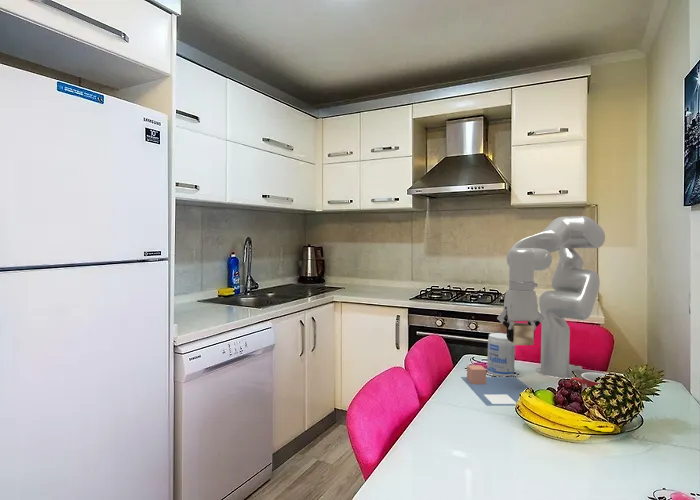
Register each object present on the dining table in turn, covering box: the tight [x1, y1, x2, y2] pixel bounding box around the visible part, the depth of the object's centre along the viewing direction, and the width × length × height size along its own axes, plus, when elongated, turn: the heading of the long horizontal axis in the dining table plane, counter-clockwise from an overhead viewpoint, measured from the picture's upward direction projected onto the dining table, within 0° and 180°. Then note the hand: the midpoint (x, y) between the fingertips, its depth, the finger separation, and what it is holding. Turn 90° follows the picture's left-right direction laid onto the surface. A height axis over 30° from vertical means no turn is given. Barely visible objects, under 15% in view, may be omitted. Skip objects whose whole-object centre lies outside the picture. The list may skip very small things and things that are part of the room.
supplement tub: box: [486, 332, 516, 377], centre depth 157 cm, size 10×10×15 cm
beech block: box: [508, 322, 535, 346], centre depth 139 cm, size 6×6×6 cm
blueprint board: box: [460, 376, 530, 407], centre depth 138 cm, size 20×26×1 cm
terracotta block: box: [466, 364, 487, 384], centre depth 146 cm, size 5×5×5 cm
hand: (520, 340), depth 139 cm, fingers closed on beech block, 6 cm apart
